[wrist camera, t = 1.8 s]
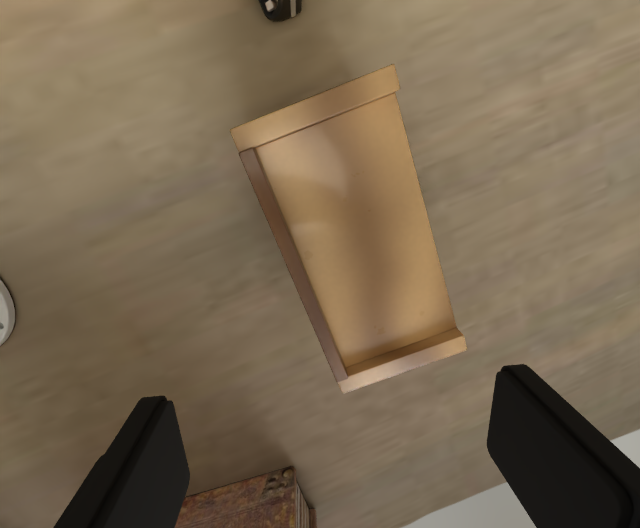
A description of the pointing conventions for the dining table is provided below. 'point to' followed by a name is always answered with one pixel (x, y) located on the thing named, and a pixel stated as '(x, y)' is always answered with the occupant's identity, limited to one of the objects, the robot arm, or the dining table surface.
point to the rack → (353, 228)
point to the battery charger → (280, 8)
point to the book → (250, 505)
